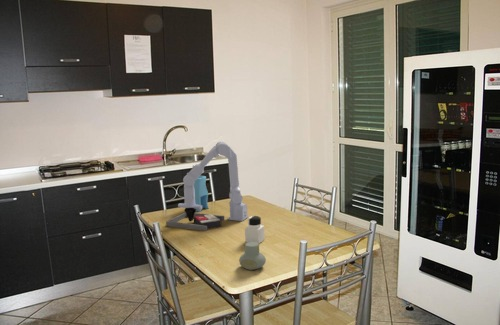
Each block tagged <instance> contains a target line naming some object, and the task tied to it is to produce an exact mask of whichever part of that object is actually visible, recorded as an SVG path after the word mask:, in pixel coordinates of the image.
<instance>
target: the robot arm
mask: <svg viewBox="0 0 500 325" xmlns="http://www.w3.org/2000/svg"><path fill="white" fill-rule="evenodd" d="M220 156H223V157H225V158H226V159H227V161H228V174H229V185H230V187H229V190H230V191H229V193H228V198H229V199H230V201H229V203H228V204H229V217H227V220H230V221H236V222H237V221H239V222H243V221H245V220H246V219H248V218H249V217H248V206H247V204H246V203H243V195H242V193H241V189H240V181H239V170H238V169H239V168H238V158H237V154H236V152H235V151H234V150H233V149H232V147H230V146H229V145H228V144H227V143H225V142H223V141H218V142H217V143H216V144H215V145H214V146H213V147H212V148H210V150H209V151H208V152H207V154H206V155H204V157H203V159H202V160H201V161H200V162H199V163H197V164H196V163H195V165H192V168H191V169H190V171H189V172H187V173H186V175H185V176H183V179H182V182H183V193H184V194H183V195H184V196H183V198H184V203H178V204H177V207H178V208H183V209H184V210H183V211H184V213H185V212H186V214H187V216H188V217H187V220H188V222H192V221H193V222H194V218H195V217H194V213H196V212H197V211H196V209H199V210H201V211H202V210H203V208H202V205H198V204H195V190H194V183H195V180H197V179H198V177H199V176H202V174H203V173H204V172H205V169H204V168H205V167H206V166H207V165H209V163H210V162H211V161H212V160H213V158H216V157H220Z"/></svg>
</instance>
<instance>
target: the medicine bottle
mask: <svg viewBox="0 0 500 325" xmlns="http://www.w3.org/2000/svg"><path fill="white" fill-rule="evenodd" d="M261 220H262V219H261V216H257V215H252V216H249V217H248V218H247V223H248V224H247V227H245V228H244V237H245V240H244V242H245V243H248V242H257V243H258V244H259V245H260V243H262V242H264V241H265V225H262V221H261Z"/></svg>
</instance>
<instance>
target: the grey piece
mask: <svg viewBox="0 0 500 325" xmlns="http://www.w3.org/2000/svg"><path fill="white" fill-rule="evenodd" d="M204 215H210V214H209V213H200V212H195V213H194V217H193V218H195V217H196V216H204ZM213 215H214V216H215V217H217V218H218V219H219V220H221V222H222V221H223V222H224V221H225V215H220V214H213ZM184 218H185V219H186V218H188V216H187V214H186V212H185V211H184V212H183V213H181V214H179V215H176V216H175V217H173V218H171V219H169V220H166V222H165V223H166V224H165V226H166V227H172V228H178V229H179V228H180V229H188V230H195V231H201V232H202V231H203V232H207V231H208V229H207V226H204V225H196V224H195V223H186V222H179V221H182V220H183V219H184Z"/></svg>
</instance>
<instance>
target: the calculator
mask: <svg viewBox="0 0 500 325" xmlns="http://www.w3.org/2000/svg"><path fill="white" fill-rule="evenodd" d="M214 215H215V214H210V215H204V216H196V217H193V224H196V225H204V226H207V230H211V229H217V228H221V227H222V220H219V219H218V218H217V217H215V216H214Z"/></svg>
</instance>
